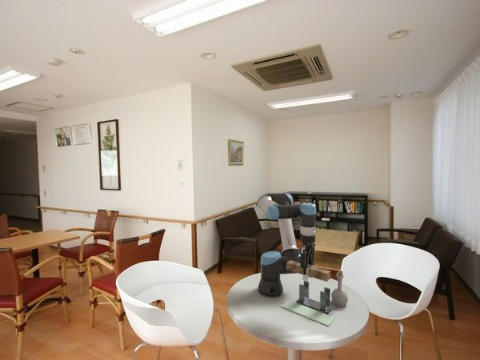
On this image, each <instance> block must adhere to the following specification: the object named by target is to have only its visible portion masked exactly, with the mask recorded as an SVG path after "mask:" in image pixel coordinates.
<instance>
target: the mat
mask: <svg viewBox="0 0 480 360" xmlns="http://www.w3.org/2000/svg"><path fill="white" fill-rule="evenodd" d="M280 307H281V308H283V309H286V310H288V311H289V312H293V313H295V314H297V315H300V316H303V317H304V318H306V319H307V318H308V319H310V320H312V321H315V322H317V323H319V324H322V325H324V326H326V327H330V326H331V324H333V322H334V321H335V319H336V317H334V316H331V315H329V314H326V313H323V312H321V311H318V310H316V309H313V308H310V307H308V306H305V305H302V304H300V303H297V302H295V301H292V300H290V299H288V300H287V301H286V302H283V304H281V306H280Z"/></svg>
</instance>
